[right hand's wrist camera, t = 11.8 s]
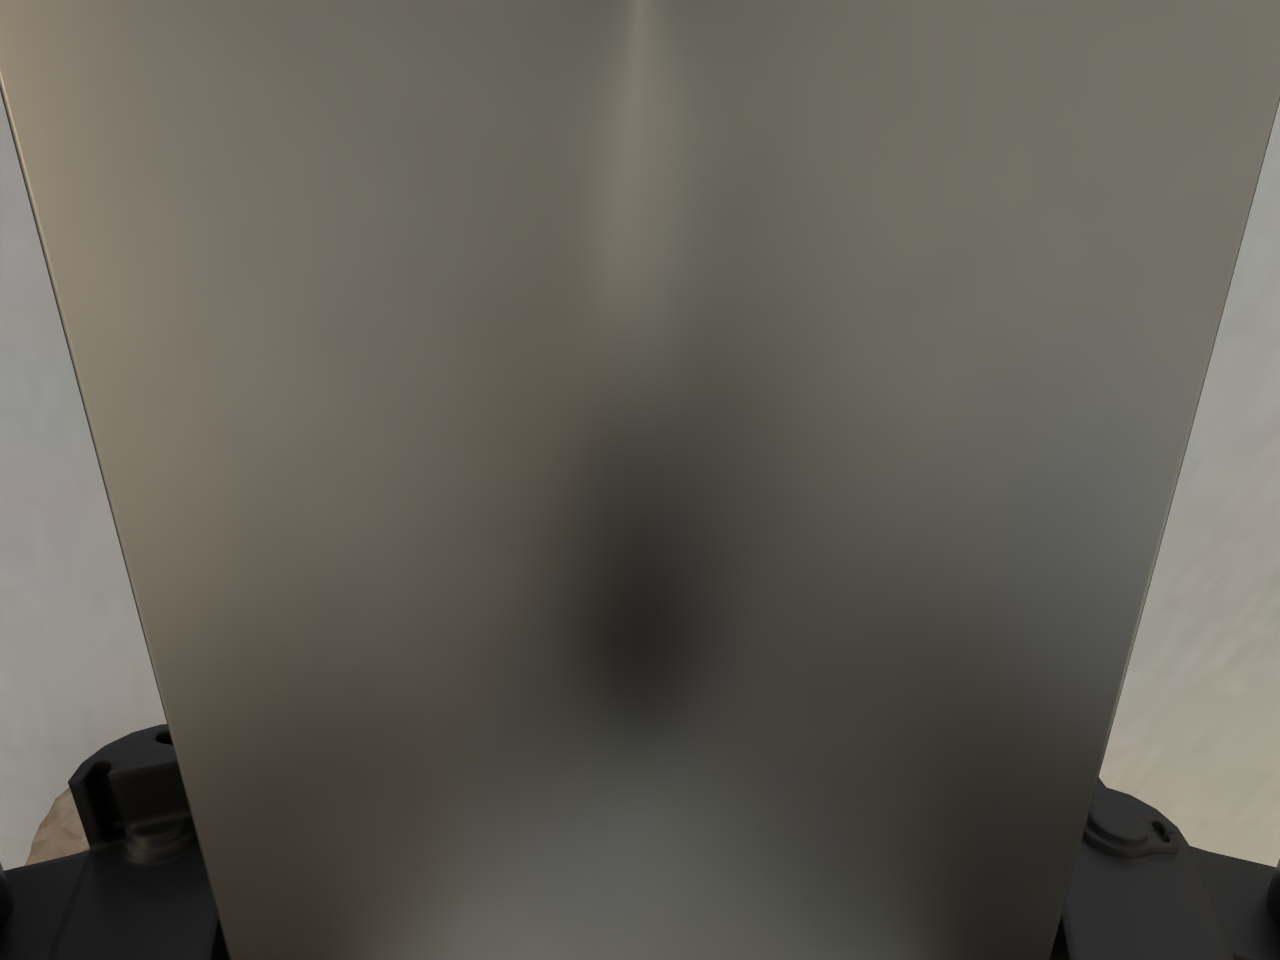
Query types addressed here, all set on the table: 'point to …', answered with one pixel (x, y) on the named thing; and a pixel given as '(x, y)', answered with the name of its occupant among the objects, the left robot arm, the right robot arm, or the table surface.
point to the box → (640, 442)
